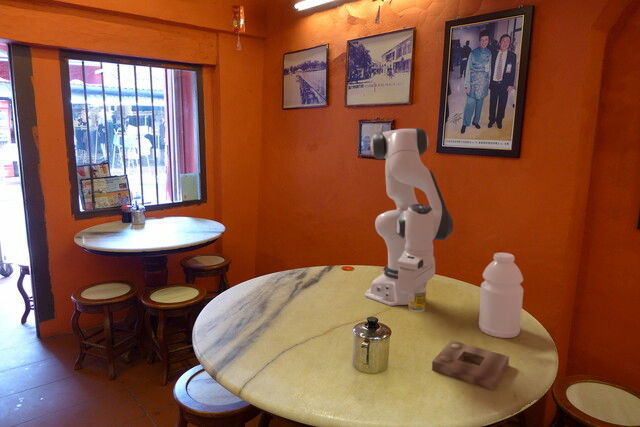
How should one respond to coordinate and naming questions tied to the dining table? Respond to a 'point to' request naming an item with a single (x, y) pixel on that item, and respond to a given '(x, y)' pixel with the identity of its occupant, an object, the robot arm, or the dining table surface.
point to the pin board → (483, 375)
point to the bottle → (501, 297)
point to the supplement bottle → (419, 299)
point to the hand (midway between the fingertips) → (417, 297)
